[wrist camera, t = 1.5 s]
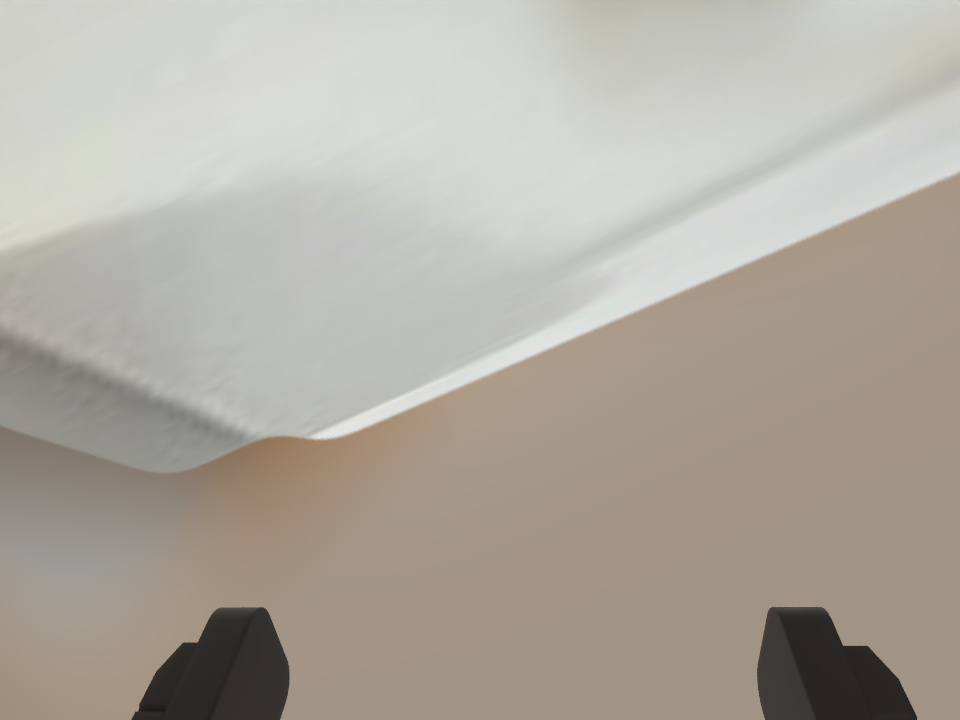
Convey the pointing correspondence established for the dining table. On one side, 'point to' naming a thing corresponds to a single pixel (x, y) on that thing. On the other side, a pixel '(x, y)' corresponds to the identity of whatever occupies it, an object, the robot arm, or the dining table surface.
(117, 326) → the dining table surface
